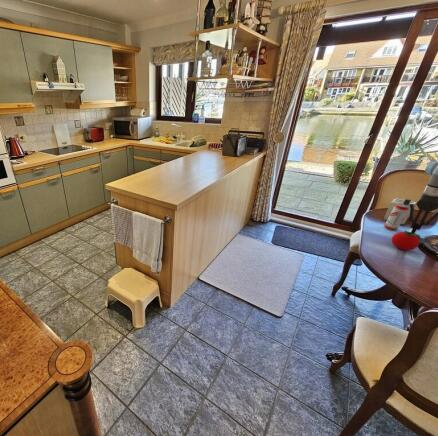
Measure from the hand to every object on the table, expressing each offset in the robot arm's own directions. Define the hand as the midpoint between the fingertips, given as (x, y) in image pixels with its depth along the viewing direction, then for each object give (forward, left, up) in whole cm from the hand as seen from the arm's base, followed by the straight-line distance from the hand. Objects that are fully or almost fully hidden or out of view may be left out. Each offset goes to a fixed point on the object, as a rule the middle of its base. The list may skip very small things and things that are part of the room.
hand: (412, 233), depth 138 cm
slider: (+9, -25, +9) cm, 28 cm away
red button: (0, 0, -2) cm, 2 cm away
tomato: (+1, +14, -5) cm, 15 cm away
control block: (0, 0, -5) cm, 5 cm away
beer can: (+10, -10, -5) cm, 15 cm away
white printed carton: (+11, -28, -5) cm, 30 cm away
